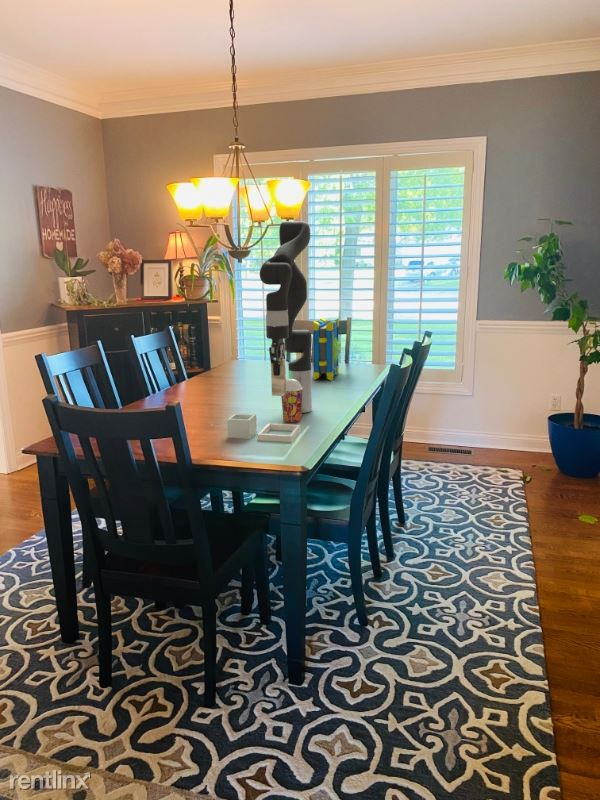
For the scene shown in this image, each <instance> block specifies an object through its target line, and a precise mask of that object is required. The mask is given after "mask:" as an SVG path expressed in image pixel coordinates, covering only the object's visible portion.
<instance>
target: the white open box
mask: <svg viewBox="0 0 600 800" xmlns="http://www.w3.org/2000/svg"><path fill="white" fill-rule="evenodd" d="M226 422H227V423H226V424H227V425H226V426H227V437H228V439H229V438H231V439H247V440H250V439H251V438H252V437H253V436H254V435H256V434H257V432H258V426H257V414H252V413H234V414H232V415H231V416H230V417H228V418H227V420H226Z"/></svg>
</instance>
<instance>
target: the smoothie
mask: <svg viewBox="0 0 600 800" xmlns="http://www.w3.org/2000/svg"><path fill="white" fill-rule="evenodd" d="M302 389H303V387H302V386H301V384H300V382H299V381H298V380H296V379H293V378H292V371H290V379H289V378H286V394H285V395H284V396H280V397H281V407H282V418H283V419H282V420H283V421H284V422H285V423H287V424H288V423H290V424H294V423H299V422H301V420H302V413H301V412H302Z"/></svg>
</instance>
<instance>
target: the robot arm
mask: <svg viewBox="0 0 600 800" xmlns="http://www.w3.org/2000/svg"><path fill="white" fill-rule="evenodd" d="M278 230H279V231H278V233H279V234H278V236H279V247H278V248H277V249H276V251H275V252H274V255H273V256H271V257H270V258H268V259H267V260H266V261H265V262H263V264H262V265H261V266H260V270H259V278H260V281H261V282H262V283H263V284H264V285H269V286H271V285H272V286H273V285H274V286H275V285H276V286H277V285H279V288H278V290H275V291H272V292H269V293H267V294H266V295H265V296H266V297H265V304H266V305H265V306H266V311H265V313H266V314H265V329H266V330H265V331H266V338H267V339H268V340H271V344H270V347H269V348H268V351H269V360H270V365H271V364H272V365H273V375H274V376H279V375H280V359H285V360H286V354H287V353H288V354H289V353H290V354H296V353H297V354H303V355H302V356H301V357H299V358H297V359H294V360H292V361H290V362H289V363H288V379H290V371H292V378H293V379H296V380H298V381H299V382H300V384H301V386H302V387H303V389H302V412H301V414H303V413H309V412H312V410H313V408H312V406H313V401H312V400H313V397H312V393H313V392H312V389H313V388H312V346H313V345H312V343H313V342H312V341H313V338H312V332H311V330H310V329H293V326H294V322H295V320H296V319H297V317H298V314H299V313H300V312H301V310H302V308H303V307H304V306H305V303H306V301H307V300H308V286H307V285H308V284H307V283H308V282H307V279H306V277H305V276H304V273H302V272H303V271H301V269H300V267H299V266H298V265H297V263H296V261H295V260H296V258H297V257H298V256H299V255H300V254H301V253H302V252H303V251H304V250H305V249H306V248H307V246H308V245H309V243H310V241H311V227H310V224H309V223H308V222H306V221H297V220H296V221H289V220H288V221H285V220H284V221H282V222H281V223H280V225H279V229H278ZM286 352H287V353H286ZM275 359H276V360H275Z"/></svg>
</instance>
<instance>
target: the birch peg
mask: <svg viewBox="0 0 600 800" xmlns="http://www.w3.org/2000/svg"><path fill="white" fill-rule="evenodd" d="M275 360H276V358H275ZM270 371H271V373H270V375H271V380H270V381H271V396H274V397H281V396H284V395H285V394H286V380H287V375H286V358H285V359H280V375H279V376H274V375H273V365H272V364H271V363H270Z"/></svg>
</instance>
